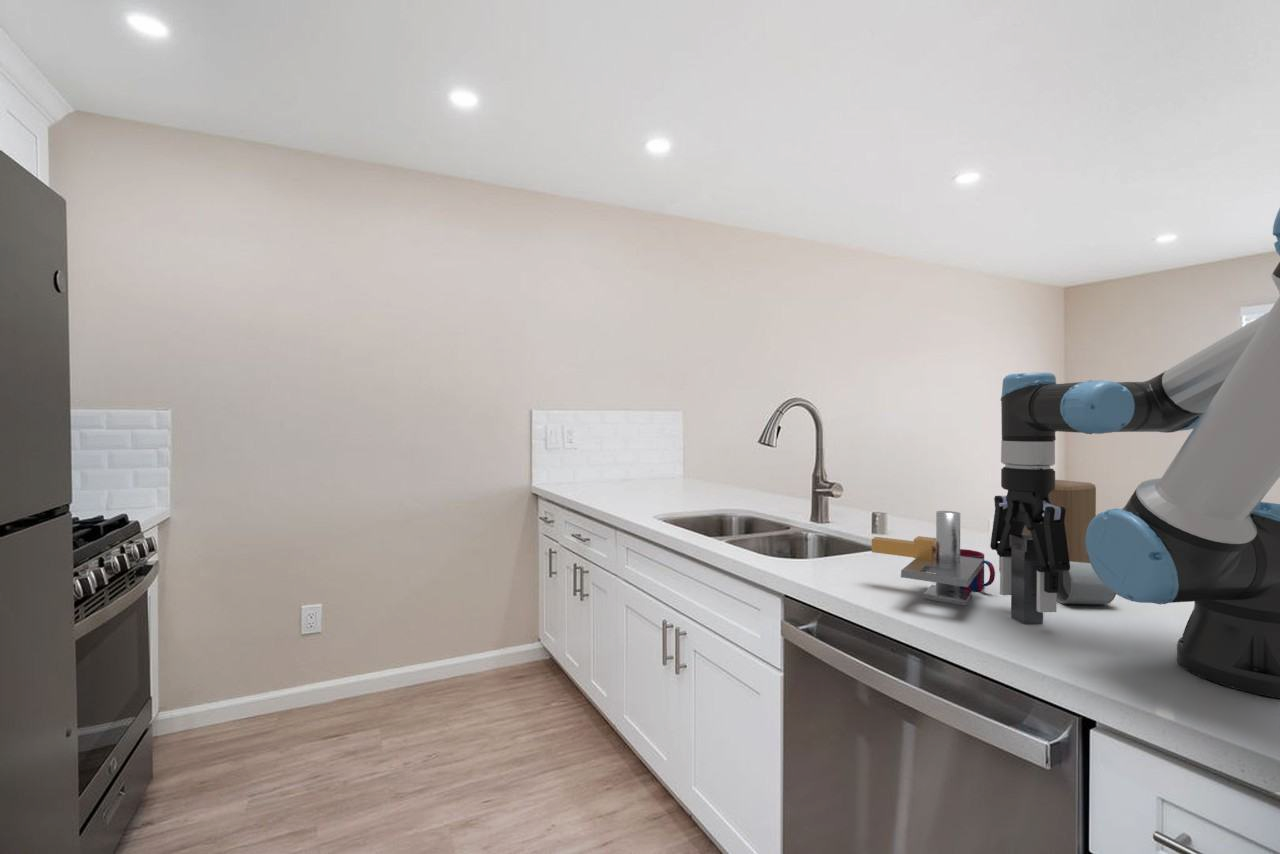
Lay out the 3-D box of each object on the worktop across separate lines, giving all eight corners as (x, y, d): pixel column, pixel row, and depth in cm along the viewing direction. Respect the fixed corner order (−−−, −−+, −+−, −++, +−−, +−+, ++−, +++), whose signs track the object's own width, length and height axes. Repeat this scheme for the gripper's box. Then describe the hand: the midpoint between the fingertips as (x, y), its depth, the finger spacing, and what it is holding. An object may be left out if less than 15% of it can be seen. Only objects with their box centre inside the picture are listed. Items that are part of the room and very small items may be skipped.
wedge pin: (1045, 624, 98) (1045, 539, 97) (1026, 625, 97) (1026, 539, 97) (1027, 616, 102) (1027, 534, 101) (1009, 616, 102) (1009, 534, 101)
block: (1018, 573, 129) (1019, 480, 128) (1047, 568, 133) (1047, 478, 132) (1068, 585, 120) (1069, 485, 119) (1097, 579, 124) (1098, 482, 123)
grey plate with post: (880, 579, 124) (880, 503, 124) (983, 595, 113) (984, 511, 113) (853, 601, 110) (853, 514, 110) (967, 622, 99) (967, 525, 99)
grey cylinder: (1121, 610, 104) (1120, 566, 104) (1071, 609, 105) (1071, 565, 105) (1081, 593, 115) (1081, 553, 115) (1036, 592, 116) (1036, 552, 116)
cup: (967, 581, 123) (967, 548, 123) (1005, 595, 113) (1005, 559, 113) (938, 582, 122) (938, 549, 122) (974, 597, 112) (974, 561, 112)
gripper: (1101, 472, 89) (1100, 624, 89) (1007, 461, 110) (1007, 584, 110) (1052, 473, 88) (1051, 625, 89) (967, 461, 109) (967, 584, 110)
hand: (1026, 602), depth 99 cm, fingers open, 8 cm apart
